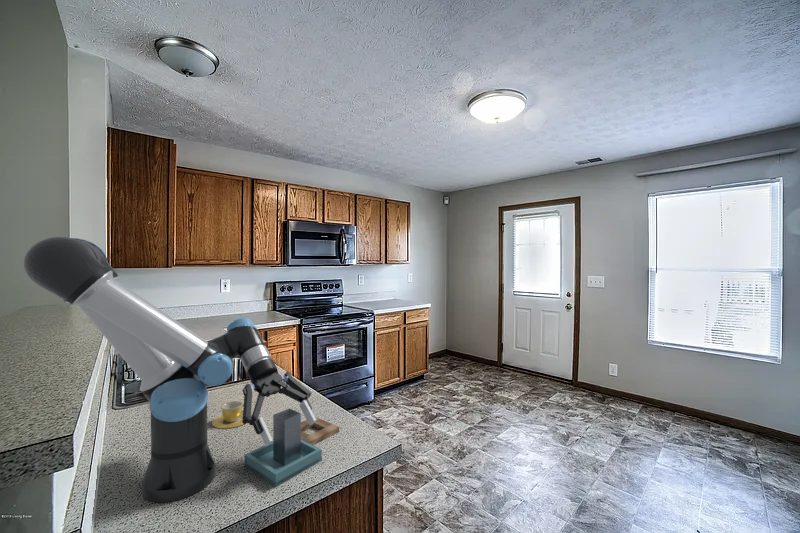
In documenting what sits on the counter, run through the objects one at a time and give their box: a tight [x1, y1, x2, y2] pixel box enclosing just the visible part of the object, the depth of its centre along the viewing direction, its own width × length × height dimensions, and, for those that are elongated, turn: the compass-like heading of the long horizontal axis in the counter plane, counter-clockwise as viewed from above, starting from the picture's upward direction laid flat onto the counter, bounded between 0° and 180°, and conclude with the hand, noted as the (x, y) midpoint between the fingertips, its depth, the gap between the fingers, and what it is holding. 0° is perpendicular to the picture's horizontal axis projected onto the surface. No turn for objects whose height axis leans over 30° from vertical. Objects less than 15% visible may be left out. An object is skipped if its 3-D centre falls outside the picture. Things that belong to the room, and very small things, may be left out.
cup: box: [211, 400, 244, 429], centre depth 119 cm, size 12×12×5 cm
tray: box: [243, 440, 323, 488], centre depth 95 cm, size 14×14×3 cm
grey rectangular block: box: [272, 408, 302, 466], centre depth 95 cm, size 5×5×12 cm
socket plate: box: [301, 416, 340, 446], centre depth 111 cm, size 12×12×2 cm
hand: (292, 432), depth 94 cm, fingers open, 13 cm apart
